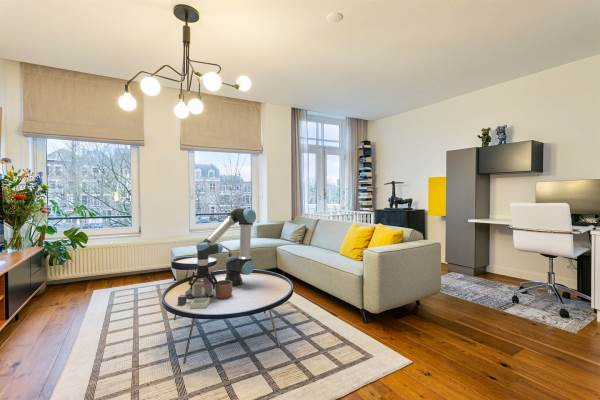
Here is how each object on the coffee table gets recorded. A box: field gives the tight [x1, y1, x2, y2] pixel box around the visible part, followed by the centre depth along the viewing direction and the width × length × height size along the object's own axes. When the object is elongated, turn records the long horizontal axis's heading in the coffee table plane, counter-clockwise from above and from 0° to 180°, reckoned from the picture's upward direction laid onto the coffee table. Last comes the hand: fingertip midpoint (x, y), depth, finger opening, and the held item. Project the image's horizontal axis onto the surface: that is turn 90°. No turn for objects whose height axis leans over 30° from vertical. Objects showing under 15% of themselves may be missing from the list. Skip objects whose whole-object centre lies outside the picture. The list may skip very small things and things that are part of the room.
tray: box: [189, 296, 211, 309], centre depth 199 cm, size 11×11×4 cm
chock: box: [177, 294, 187, 306], centre depth 201 cm, size 4×5×6 cm
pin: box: [200, 283, 206, 298], centre depth 206 cm, size 4×4×12 cm
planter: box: [214, 279, 233, 300], centre depth 215 cm, size 12×12×11 cm
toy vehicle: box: [184, 275, 215, 300], centre depth 215 cm, size 9×20×15 cm, turn 95°
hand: (203, 294), depth 206 cm, fingers open, 13 cm apart
